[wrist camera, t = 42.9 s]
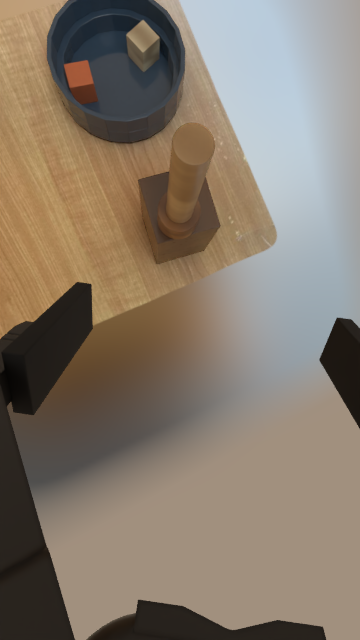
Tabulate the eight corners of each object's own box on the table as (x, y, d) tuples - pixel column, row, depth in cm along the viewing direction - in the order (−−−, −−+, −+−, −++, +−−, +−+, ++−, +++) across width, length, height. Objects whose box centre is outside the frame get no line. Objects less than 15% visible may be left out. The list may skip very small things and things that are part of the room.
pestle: (172, 191, 35) (185, 95, 20) (204, 215, 36) (240, 138, 21) (149, 223, 35) (145, 149, 20) (182, 247, 35) (201, 192, 20)
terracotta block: (92, 79, 46) (87, 59, 42) (98, 101, 46) (93, 83, 43) (70, 83, 46) (63, 64, 42) (76, 105, 46) (69, 87, 42)
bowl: (161, 14, 48) (162, -26, 42) (196, 128, 48) (201, 103, 42) (44, 39, 46) (29, 1, 41) (80, 157, 46) (70, 135, 41)
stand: (189, 203, 48) (201, 162, 36) (204, 250, 48) (220, 226, 36) (142, 216, 47) (137, 179, 35) (156, 264, 47) (157, 243, 35)
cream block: (143, 42, 47) (143, 19, 43) (159, 58, 47) (159, 37, 43) (128, 56, 46) (125, 34, 43) (143, 72, 47) (142, 52, 43)
